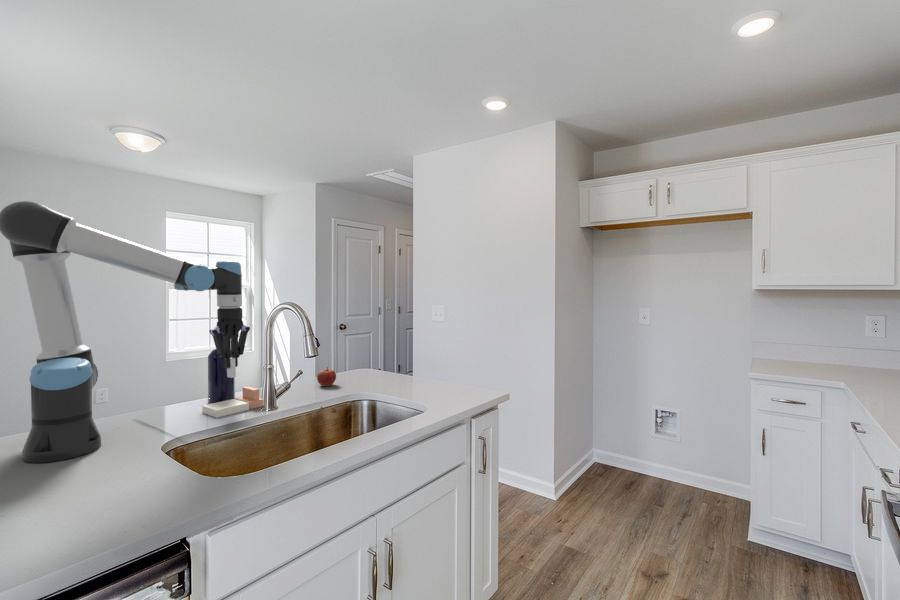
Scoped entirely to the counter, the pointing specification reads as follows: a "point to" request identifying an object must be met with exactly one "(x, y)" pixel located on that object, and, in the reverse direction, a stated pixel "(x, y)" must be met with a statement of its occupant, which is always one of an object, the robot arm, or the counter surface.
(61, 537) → the counter surface
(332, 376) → the apple
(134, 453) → the counter surface
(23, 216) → the robot arm
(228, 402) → the cream rectangular slab
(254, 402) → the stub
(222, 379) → the bottle
